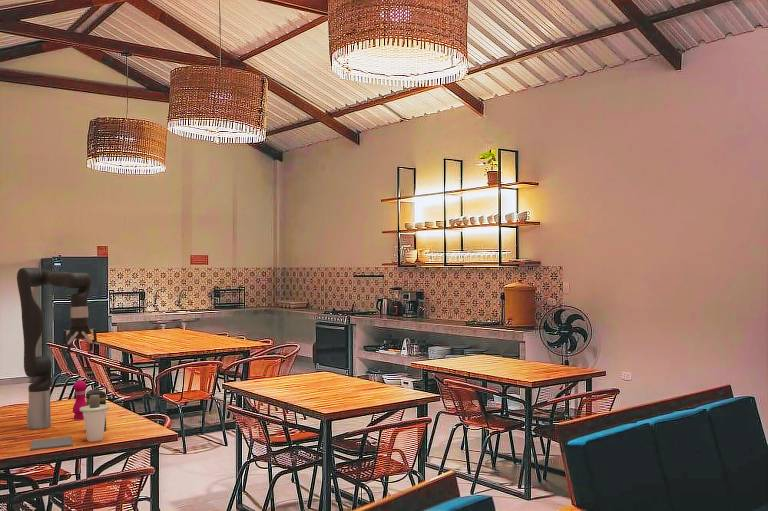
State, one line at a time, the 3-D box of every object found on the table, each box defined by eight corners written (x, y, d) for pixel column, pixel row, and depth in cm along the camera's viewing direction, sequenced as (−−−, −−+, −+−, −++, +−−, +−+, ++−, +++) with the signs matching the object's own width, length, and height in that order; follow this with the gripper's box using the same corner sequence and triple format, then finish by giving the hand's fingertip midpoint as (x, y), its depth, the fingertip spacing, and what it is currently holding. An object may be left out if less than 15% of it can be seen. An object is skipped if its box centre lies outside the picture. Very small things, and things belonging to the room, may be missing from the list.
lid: (75, 412, 311) (75, 398, 311) (85, 407, 323) (85, 393, 323) (104, 411, 312) (103, 397, 312) (113, 406, 324) (112, 392, 324)
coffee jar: (108, 430, 334) (107, 390, 334) (90, 433, 329) (89, 392, 329) (102, 427, 342) (101, 387, 342) (84, 429, 337) (84, 389, 337)
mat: (30, 450, 301) (30, 448, 301) (31, 442, 315) (31, 440, 315) (72, 445, 307) (72, 444, 307) (72, 437, 322) (72, 436, 322)
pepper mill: (75, 417, 366) (74, 377, 366) (90, 416, 367) (89, 376, 367) (70, 420, 359) (69, 379, 359) (85, 419, 360) (85, 378, 360)
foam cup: (98, 442, 312) (97, 411, 312) (79, 441, 314) (78, 411, 314) (111, 437, 321) (110, 407, 321) (92, 436, 323) (91, 407, 323)
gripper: (62, 317, 327) (63, 354, 327) (96, 316, 333) (97, 352, 333) (62, 316, 334) (63, 352, 334) (96, 315, 340) (96, 350, 340)
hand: (80, 352), depth 334 cm, fingers open, 8 cm apart
